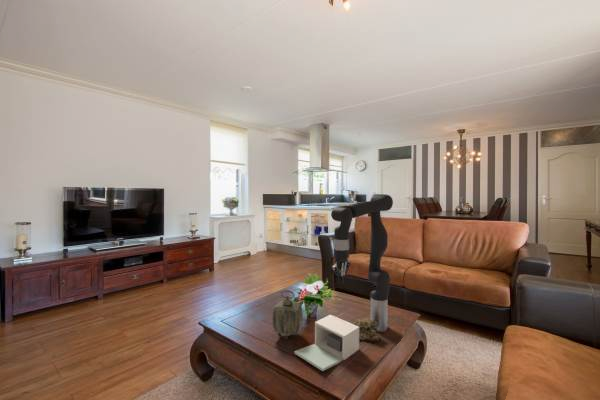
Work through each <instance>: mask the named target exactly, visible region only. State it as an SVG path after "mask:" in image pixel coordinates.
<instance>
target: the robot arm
mask: <svg viewBox="0 0 600 400" xmlns="http://www.w3.org/2000/svg"><path fill="white" fill-rule="evenodd" d="M393 204H394V200H393V197H392V196H391V195H389V194H386V193H385V194H384V193H383V194H379V193H376V194H372V195H371V197H370V200H369V201H367V200H366V201H361V202H356V203H352V204H348V205H340V206H336V207H333V209H332V210H331V213H330V215H331V216H330V217H331V218H332V219H333V220H334V221H336V222H340V224H339V226H336V227H335V228H334V231H333V233H334V235H333V236H334V237H333V238H334V239H333V257H334V264H333V265H331V270H332V271H333V272H334V273H333V274H334V275H335V276H338V277H337V282H338V283H339V284H344V282H345V275H346V274H347V273H348V271H349V269H350V266H351V264H352V263H351V262H350V261H349V260H348V259H349V258H350V237H349V235H350V234H349V233H350V228H351V225H352V221H353V219H355V218H359V217H362V216H365V215H369V214H370V242H369V243H370V254H369V265H368V270H367V278H368V281H369V282H370V283H371V284H373V285H374V286H375V289H374V290H372V291H371V292H370V304H369V305H370V308H369V310H370V313H369V315H370V316H369V318H370V319H371V320H373V321H376V322H377V332H378V333H379V332H386V331H387V330H388V317H389V316H388V314H389V311H388V299H389V294H390V287H391V276H390V274H389V272H387V271H386V270H383V269H381V260H382V257H383V255H384V254H385V252H386V251H387V248H388V242H389V240H388V239H389V237H388V232H387V229H386V228H385V225H384V223H383V221H382V218H381V212H388V211H390V210H391V209H392V207H393Z"/></svg>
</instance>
